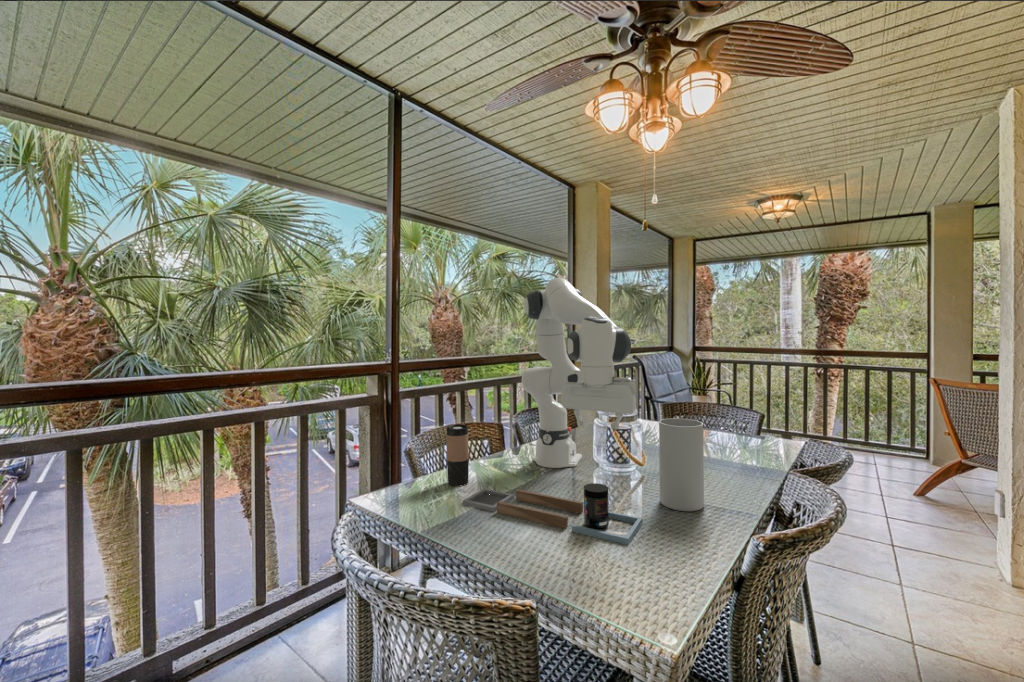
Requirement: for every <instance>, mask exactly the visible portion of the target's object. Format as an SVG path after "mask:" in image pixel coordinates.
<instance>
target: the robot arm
mask: <svg viewBox="0 0 1024 682" xmlns="http://www.w3.org/2000/svg"><path fill="white" fill-rule="evenodd" d="M523 308H524V312H525V314H526V316H527V318H529V319H531V320H536V324H535V325H536V328H535V330H536V331H535V333H536V348H537V353H538V354H539V356H540V357H542V358H543V359H545V360H547V361H548V362H549V363H550V364H551V365H552V366H534V367H529V368H526V369H525V370H524V371H523V373H522V376H521V385H522V387H523V389H524V390H525V391H526V392H527V393H528V394H529V395H531V397H532V398H533V399H534V401H535V403H536V405H537V409H538V416H539V418H538V419H539V428H538V439H537V440H536V442H535V443H536V444H535V456H534V457H532V461H534V462H535V463H536V465H538V466H540V467H542V468H543V467H544V468H549V469H559V468H560V469H561V468H568V467H577V466H578V463H579V462H581V461H580V460H581V459H582V457H583V455H582V453H579V452H577V444H576V442H574V440H573V439H572V438H571V437H570V433H571V431H572V427H571V426H568V411H567V409H568V410H573V413H574V416H575V418H576V419H577V425H578V426H579V427H580V426H581V427H584V426H586V418H583V416H582V415H581V413H582V411H592V412H593V411H594V412H604V413H605V412H606V413H615V414H614V416H615V418H616V419H615V421H612V422H611V430H616V431H617V430H619V428H620V425H619V424H620V423H619V422H621V420H622V418H623V416H624V414H628V415H629V414H633V413H634V412H635V411H637V398H636V393H637V383H636V381H635V380H633V379H631V377H620V376H618V377H617V376H615V363H622V362H623V361H624V360H625V359H626V358H627V357H628V356H629V354H630V353H631V350H632V342H631V341H632V340H631V338H630V336H629V334H628V333H627V332H626V331H625V330H624V329H623V328H622V327H620V326H617V325H616V323H614V322H613V321H612V320H611V318H609V316H607V314H606V313H605V312H604V311H603V310H602V309H600V308H599V307H598V305H595V304H594V303H592V302H590V301H589V300H587V299H586V298H584V297H583V295H582V292H581V291H580V290H579V289H578V288H576V287H574V286H573V284H572V283H571V282H569V281H568V280H567V279H566V278H562V277H554V278H552V279H550V280H549V281H548V282H547V284H546V285H545V288H544V289H541V290H533V291H530V292H528V293H527V294H526V295H525V297H524V302H523ZM564 324H567V325H577V326H580V327H578V328H577V329H576V330H572V331H571V332H570V333H569V334H568V335H567V336H566V337H565V326H564ZM565 339H566V340H565ZM571 360H572V361H574V362H578V363H580V368H578V367H577V366H576V365H575V364H574V363H573V362H572V361H571ZM553 395H561V397H560V398H561V399H560V400H561V403H560V402H558V401H556V400H555V399H554V396H553Z"/></svg>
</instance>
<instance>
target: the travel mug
mask: <svg viewBox="0 0 1024 682" xmlns="http://www.w3.org/2000/svg"><path fill="white" fill-rule="evenodd" d="M469 451H470V450H469V426H468V425H466V424H454V425H453V426H446V465H447V467H446V468H447V483H448V485H449V484H450V485H449V486H451V485H453V486H452V487H461V486H460V485H463V486H465V485H464V484H466V485H468V484H469V470H470V469H469V464H470V461H469V458H470V456H469V455H470V453H469ZM467 483H468V484H467Z"/></svg>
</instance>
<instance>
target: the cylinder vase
mask: <svg viewBox="0 0 1024 682" xmlns="http://www.w3.org/2000/svg"><path fill="white" fill-rule="evenodd" d="M658 436H659V437H658V439H659V440H658V443H659V444H658V447H659V448H658V449H659V452H658V455H659V457H658V458H659V464H658V465H659V466H658V467H659V501H660V503H661V505H662V506H664V507H665V508H668V509H671V510H674V511H678V512H687V513H689V512H690V513H692V512H697V511H699V510H702V509H703V508H704V507H705V506H704V505H705V493H704V492H705V491H704V489H705V486H704V485H705V483H704V482H705V479H704V478H705V476H704V475H705V471H704V469H705V464H704V422H702V421H699V420H696V419H689V418H679V417H678V418H672V417H671V418H662V419H660V420H659V421H658Z"/></svg>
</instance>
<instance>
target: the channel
mask: <svg viewBox="0 0 1024 682" xmlns="http://www.w3.org/2000/svg"><path fill="white" fill-rule="evenodd" d="M515 500H516V501H518V500H520V501H519V502H523V501H524V502H525V503H528V504H533V505H538V504H539V505H538V506H542V505H544V507H547V506H548V508H552V507H553V508H552V509H557V508H558V510H561V509H562V511H566V510H567V511H566V512H571V511H572V513H576V512H578V513H577V514H581V513H582V512H583V513H584V501H580V500H574V499H571V498H570V499H569V498H566V497H565V498H563V497H558V496H554V495H548V494H544V493H538V492H532V491H528V490H523V489H516V490H515ZM496 513H497V514H501V515H505V516H509V517H512V518H519V519H522V520H527V521H531V522H535V523H539V524H544V525H548V526H553V527H556V526H557V527H556V528H560V527H561V528H560V529H564V528H565V530H567V529H568V528H569V517H568V515H563V514H559V513H556V512H555V513H554V512H550V511H545V510H541V509H537V508H531V507H527V506H523V505H518V504H514V503H510V502H508V503H505V502H500V501H499V502H497V510H496ZM583 513H582V514H583ZM567 527H568V528H567ZM566 528H567V529H566Z"/></svg>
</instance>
